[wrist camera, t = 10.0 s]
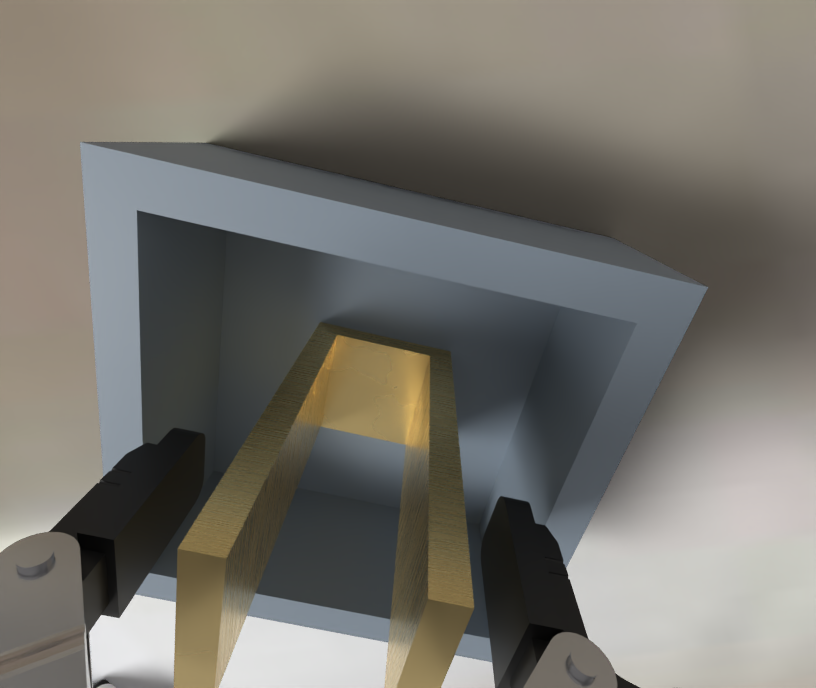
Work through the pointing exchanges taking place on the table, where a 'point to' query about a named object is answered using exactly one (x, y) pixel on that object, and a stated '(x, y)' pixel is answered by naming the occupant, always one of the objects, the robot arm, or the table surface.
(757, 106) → the table surface
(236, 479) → the bracket
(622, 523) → the table surface
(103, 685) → the laminator
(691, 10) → the table surface
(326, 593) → the box
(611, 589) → the table surface
